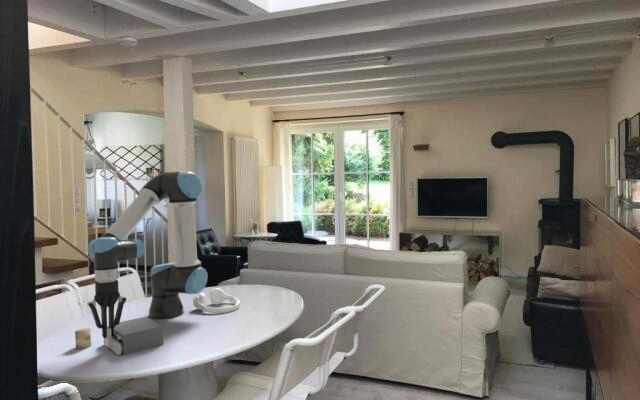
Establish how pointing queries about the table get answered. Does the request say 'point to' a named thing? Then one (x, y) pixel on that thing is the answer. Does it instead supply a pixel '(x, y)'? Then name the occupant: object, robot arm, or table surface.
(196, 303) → the headphones
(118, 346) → the tray
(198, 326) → the table surface
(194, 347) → the table surface
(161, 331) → the housing
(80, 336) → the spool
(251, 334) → the table surface
